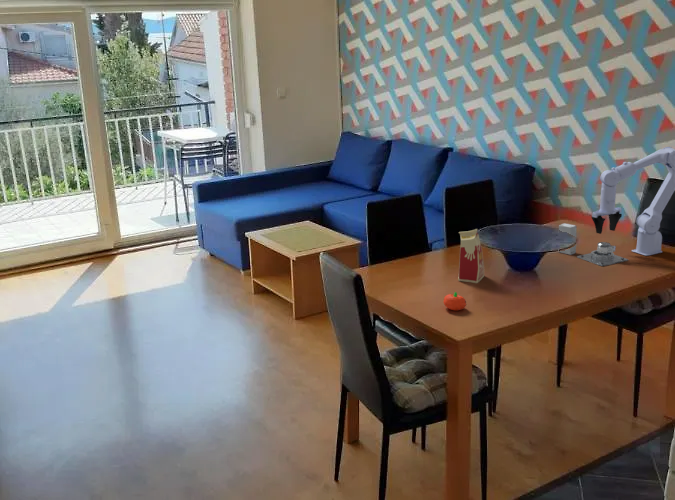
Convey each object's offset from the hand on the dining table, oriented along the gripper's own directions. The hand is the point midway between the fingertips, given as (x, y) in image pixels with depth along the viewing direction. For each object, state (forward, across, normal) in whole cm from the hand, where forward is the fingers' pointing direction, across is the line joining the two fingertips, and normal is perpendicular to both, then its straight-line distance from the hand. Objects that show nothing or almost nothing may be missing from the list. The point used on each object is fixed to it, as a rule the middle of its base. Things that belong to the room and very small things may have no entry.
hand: (605, 231), depth 294 cm
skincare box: (+10, -12, +9) cm, 18 cm away
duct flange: (+9, -6, -5) cm, 12 cm away
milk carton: (+10, -65, +6) cm, 66 cm away
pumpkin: (+10, -89, -16) cm, 91 cm away
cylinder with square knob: (+9, -6, -5) cm, 12 cm away
